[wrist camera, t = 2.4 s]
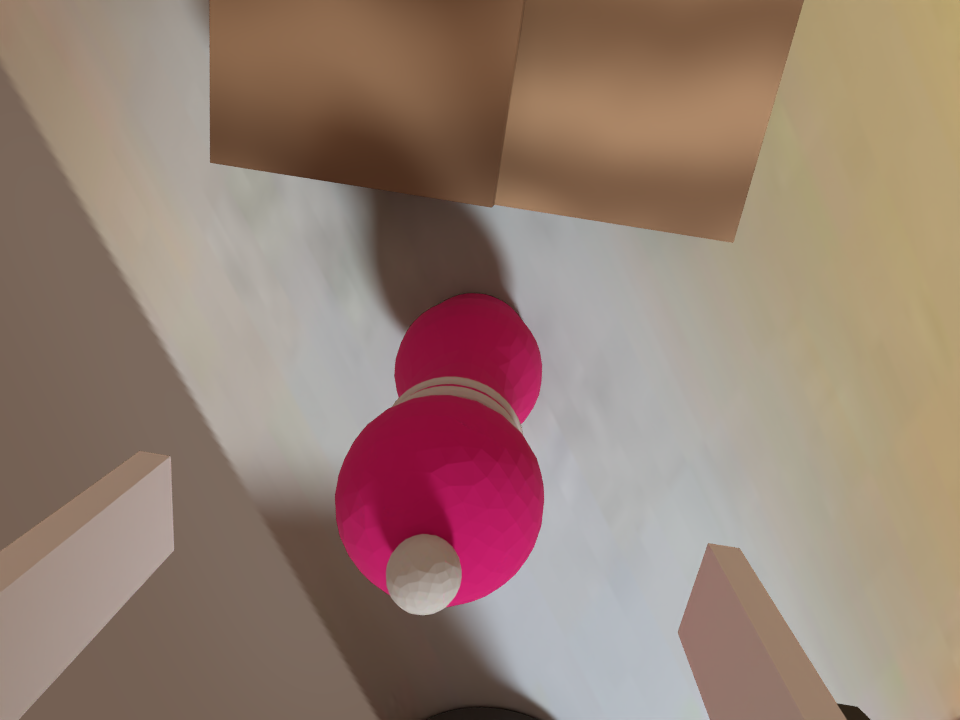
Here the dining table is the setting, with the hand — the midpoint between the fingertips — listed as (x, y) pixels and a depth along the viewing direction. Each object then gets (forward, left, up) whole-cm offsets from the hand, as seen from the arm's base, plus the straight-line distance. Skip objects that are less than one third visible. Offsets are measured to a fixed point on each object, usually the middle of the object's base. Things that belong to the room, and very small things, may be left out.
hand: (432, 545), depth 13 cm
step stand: (+16, 0, -18) cm, 24 cm away
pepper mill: (0, 0, -19) cm, 19 cm away
